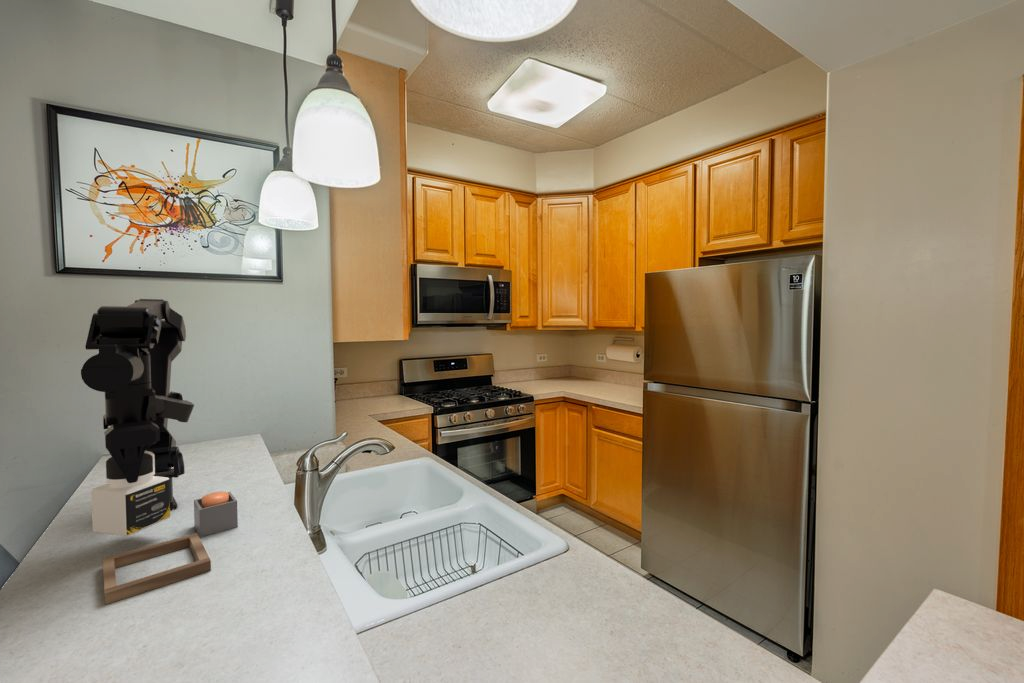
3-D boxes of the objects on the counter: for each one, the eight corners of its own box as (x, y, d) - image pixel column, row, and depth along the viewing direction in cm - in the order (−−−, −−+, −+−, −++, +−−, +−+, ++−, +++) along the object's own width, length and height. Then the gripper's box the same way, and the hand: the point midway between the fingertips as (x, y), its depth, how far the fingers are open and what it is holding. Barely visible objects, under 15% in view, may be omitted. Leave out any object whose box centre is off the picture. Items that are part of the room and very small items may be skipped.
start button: (200, 506, 79) (199, 495, 79) (226, 500, 82) (225, 489, 82) (204, 513, 76) (204, 502, 76) (231, 507, 79) (230, 496, 79)
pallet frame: (103, 568, 66) (102, 558, 66) (197, 541, 74) (197, 532, 74) (105, 604, 57) (104, 593, 57) (210, 570, 65) (210, 560, 65)
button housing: (194, 526, 79) (193, 500, 79) (230, 516, 83) (230, 491, 83) (200, 537, 75) (199, 509, 75) (237, 526, 79) (237, 500, 79)
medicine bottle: (127, 537, 68) (124, 462, 68) (91, 532, 70) (88, 458, 69) (171, 517, 75) (169, 448, 75) (137, 513, 77) (135, 446, 76)
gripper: (198, 384, 70) (200, 480, 71) (181, 374, 84) (183, 454, 84) (103, 392, 63) (107, 499, 63) (101, 379, 76) (104, 467, 77)
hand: (131, 477), depth 72 cm, fingers closed on medicine bottle, 6 cm apart
